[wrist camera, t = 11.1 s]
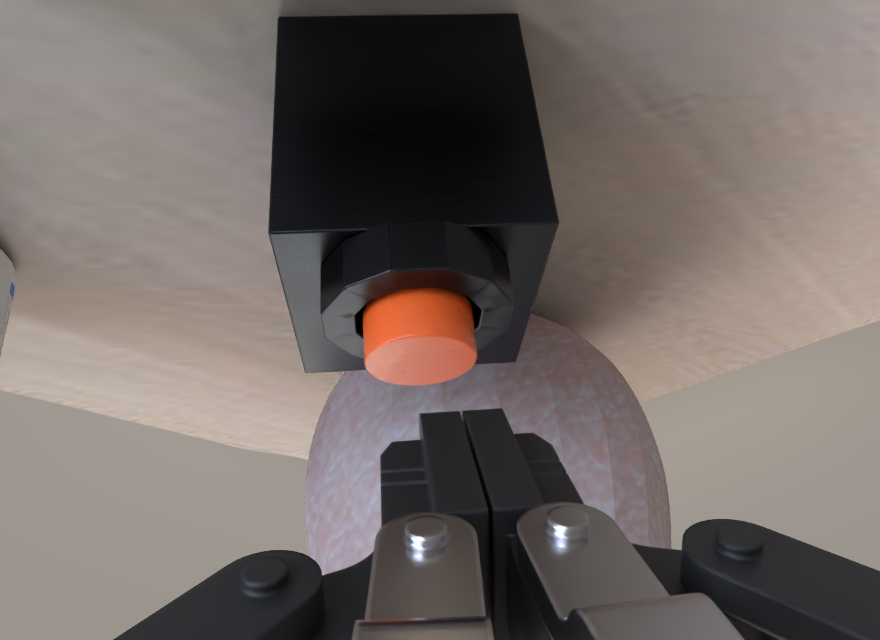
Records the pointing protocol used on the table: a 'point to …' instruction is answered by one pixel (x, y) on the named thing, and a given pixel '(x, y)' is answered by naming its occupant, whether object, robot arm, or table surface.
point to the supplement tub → (5, 293)
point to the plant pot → (528, 411)
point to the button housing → (406, 175)
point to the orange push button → (419, 336)
